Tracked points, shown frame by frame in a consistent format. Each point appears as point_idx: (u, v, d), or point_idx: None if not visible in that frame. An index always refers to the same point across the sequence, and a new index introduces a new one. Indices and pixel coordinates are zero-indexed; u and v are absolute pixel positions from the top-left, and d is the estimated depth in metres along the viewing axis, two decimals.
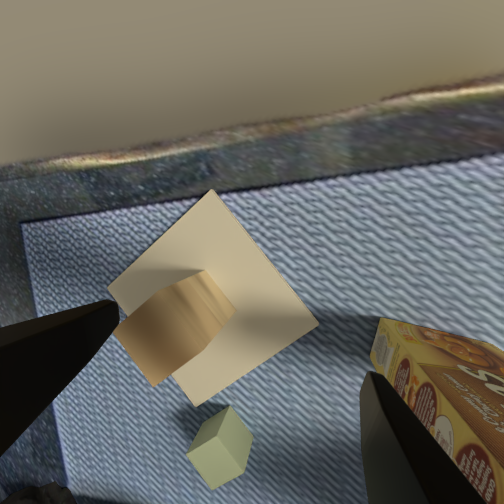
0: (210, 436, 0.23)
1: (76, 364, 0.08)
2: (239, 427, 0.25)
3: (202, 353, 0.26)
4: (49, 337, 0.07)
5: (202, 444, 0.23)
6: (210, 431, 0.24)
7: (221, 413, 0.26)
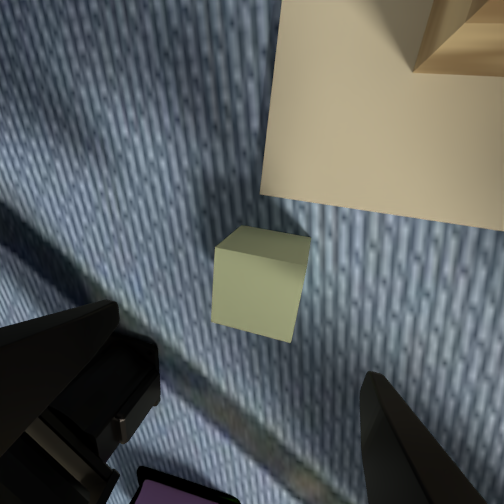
0: (285, 257, 0.11)
1: (76, 364, 0.08)
2: None
3: (377, 110, 0.10)
4: (49, 337, 0.07)
5: (264, 258, 0.11)
6: (279, 249, 0.11)
7: (294, 238, 0.13)
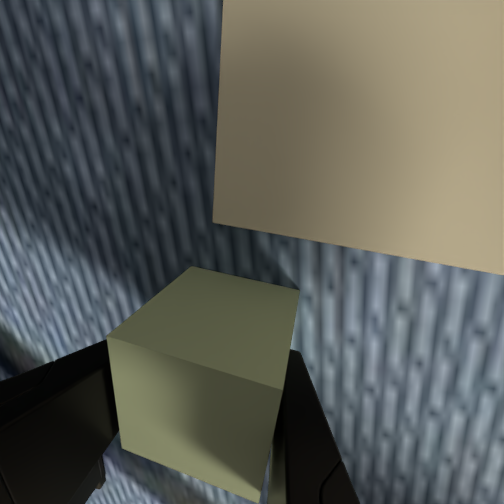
0: (241, 361, 0.05)
1: None
2: None
3: (426, 68, 0.05)
4: None
5: (197, 365, 0.05)
6: (235, 333, 0.06)
7: (272, 297, 0.08)
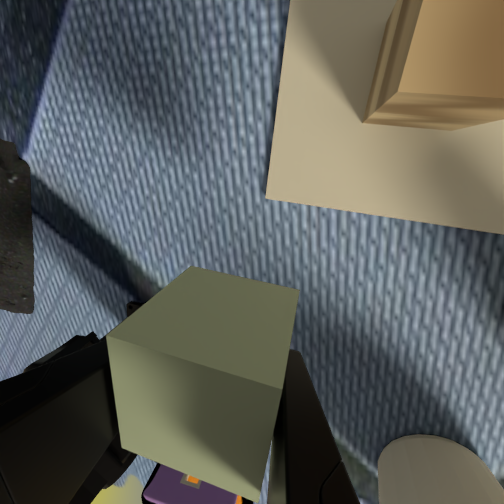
0: (241, 361, 0.05)
1: None
2: None
3: (341, 145, 0.16)
4: None
5: (197, 364, 0.05)
6: (235, 332, 0.06)
7: (271, 296, 0.08)
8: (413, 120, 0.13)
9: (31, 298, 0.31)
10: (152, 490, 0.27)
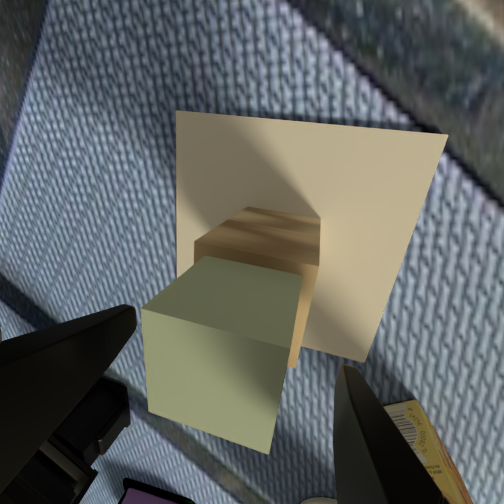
0: (255, 328, 0.06)
1: (96, 371, 0.08)
2: None
3: None
4: (71, 344, 0.07)
5: (218, 330, 0.06)
6: (248, 307, 0.07)
7: (278, 280, 0.09)
8: None
9: None
10: None
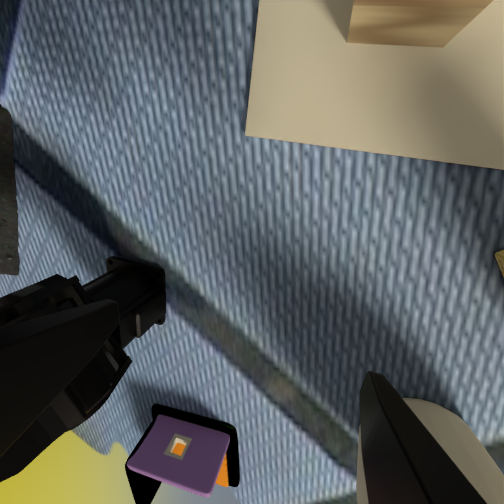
0: None
1: (76, 364, 0.08)
2: None
3: (325, 70, 0.15)
4: (49, 337, 0.07)
5: None
6: None
7: None
8: (398, 23, 0.12)
9: (16, 259, 0.30)
10: (135, 460, 0.28)
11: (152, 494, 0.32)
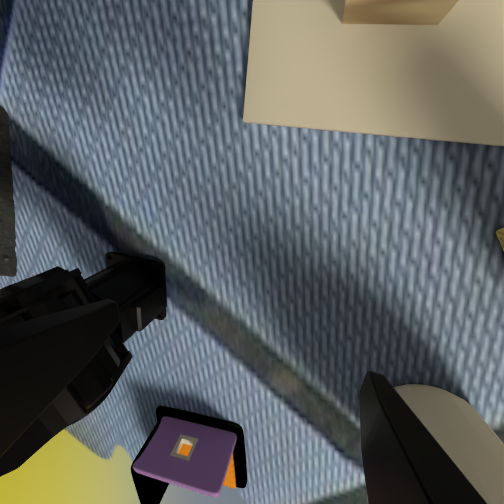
0: None
1: (76, 364, 0.08)
2: None
3: (321, 52, 0.15)
4: (49, 337, 0.07)
5: None
6: None
7: None
8: None
9: (13, 259, 0.30)
10: (141, 463, 0.27)
11: (158, 498, 0.31)
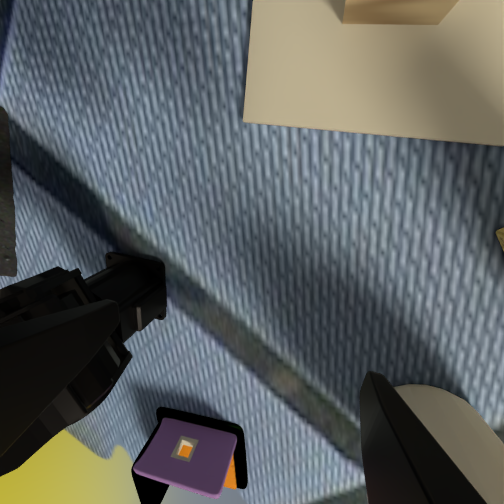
0: None
1: (76, 364, 0.08)
2: None
3: (321, 52, 0.15)
4: (49, 337, 0.07)
5: None
6: None
7: None
8: None
9: (14, 260, 0.30)
10: (142, 464, 0.27)
11: (159, 499, 0.31)
